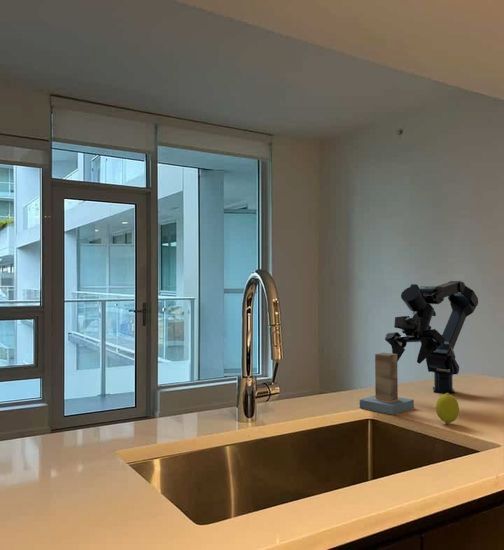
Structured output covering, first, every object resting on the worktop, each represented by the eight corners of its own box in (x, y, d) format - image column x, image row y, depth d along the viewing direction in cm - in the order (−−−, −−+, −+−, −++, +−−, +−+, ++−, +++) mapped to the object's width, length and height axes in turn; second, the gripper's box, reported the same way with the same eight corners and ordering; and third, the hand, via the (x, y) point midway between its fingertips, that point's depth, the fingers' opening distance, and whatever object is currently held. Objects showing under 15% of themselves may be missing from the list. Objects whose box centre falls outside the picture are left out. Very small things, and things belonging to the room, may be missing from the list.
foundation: (381, 401, 157) (381, 393, 157) (413, 408, 149) (413, 399, 149) (359, 407, 150) (359, 398, 150) (392, 414, 142) (392, 405, 142)
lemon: (462, 427, 129) (462, 395, 129) (440, 427, 130) (440, 395, 130) (454, 421, 135) (454, 390, 135) (433, 421, 135) (432, 390, 135)
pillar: (384, 396, 153) (383, 352, 153) (397, 399, 149) (397, 354, 150) (375, 398, 150) (375, 354, 150) (389, 401, 146) (388, 355, 147)
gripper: (382, 308, 167) (366, 349, 160) (430, 302, 152) (414, 347, 145) (403, 327, 171) (388, 368, 164) (452, 323, 156) (438, 368, 149)
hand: (405, 363), depth 155 cm, fingers open, 9 cm apart
